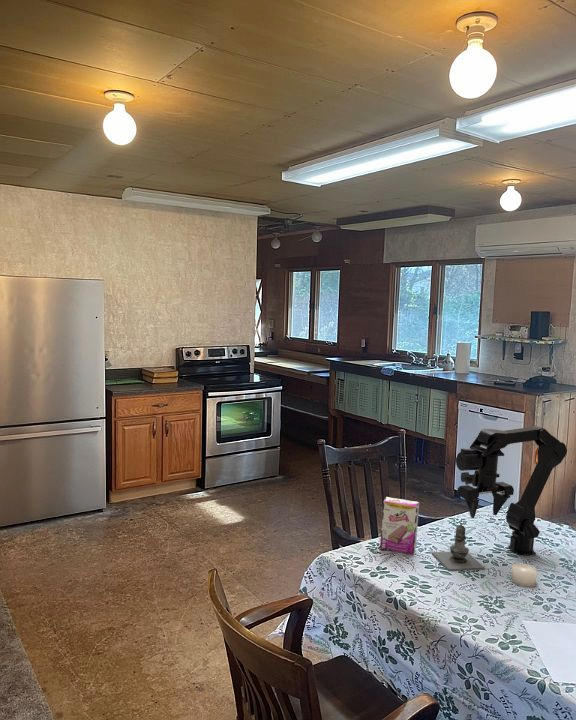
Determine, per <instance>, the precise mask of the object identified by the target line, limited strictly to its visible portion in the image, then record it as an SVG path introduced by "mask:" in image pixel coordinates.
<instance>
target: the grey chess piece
mask: <svg viewBox="0 0 576 720" xmlns="http://www.w3.org/2000/svg"><path fill="white" fill-rule="evenodd" d="M466 539H467V537H466V527H465V526H464V525H463V523H462V522H460V523H459V524H458V525H456V528H455V535H454V543H453V544H452V545H450V546H449V552H451V554H452V555H453V556H451V557H450V560H451V561H453V562H455V563H466V562H467V559H466V558H464V557H466V556H467V554H468V553H469V552H470V549H469V548H468V547H467V546H466V545H465V544H466V543H465V542H466Z"/></svg>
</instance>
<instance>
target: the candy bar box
mask: <svg viewBox="0 0 576 720" xmlns="http://www.w3.org/2000/svg"><path fill="white" fill-rule="evenodd" d="M382 504H383V506H382V518H381V529H380V530H381V533H380V541H379V542H380V543H379V548H380V550H387V551H391V552H395V553H396V552H397V553H401V554H402V553H403V554H407V555H411V556H414V555H415V551H416V548H417V538H418V537H417V536H418V525H419V511H420V502H418V501H415V500H414V501H413V500H408V499H403V498H395V497H389V496H385V498H384V500H383V502H382Z"/></svg>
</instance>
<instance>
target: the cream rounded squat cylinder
mask: <svg viewBox="0 0 576 720" xmlns="http://www.w3.org/2000/svg"><path fill="white" fill-rule="evenodd" d="M537 578H538V569H537V568H536V567H535V566H533V565H530V564H526V563H522V562H515V563H513V564H511V571H510V580H511V582H512V583H514V584H515V585H518V586H521V587H529V588H531V587H535V586H536V585H537Z"/></svg>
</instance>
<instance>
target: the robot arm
mask: <svg viewBox="0 0 576 720" xmlns="http://www.w3.org/2000/svg"><path fill="white" fill-rule="evenodd" d="M525 442H526V443H527V442H534V444H535V445H536V446H537V447H538V448H537V450H536V454H537V455H536V457H537V462H536V465H535V467H534V468H533V470H532V471H533V472H532V473H531V476H530V478H529V480H528V482H527V484H526V486H525V489H524V490H523V493H522V495H521V497H520V499H519V500H518V501H517V502H515V503H514V502H511V503H510V504H509V507H508V509H507V510H506V512H505V514H506V516H505V520H506V523H507V524H508V528H509V530H511V531H512V532H511V535H510V541H509V544H508V545H507V548H508V549H510V550H511V551H513V552H514V553H515V554H516V555H518V556H521V555H523V556H524V554H528V555H536V553H537V552H536V551H534V545H535V544H534V543H535V538H538V537H539V535H540V529H539V528H538V527H537V526H536V525H535V521H536V506H537V504H538V501H539V500H540V498H541V494H542V492H543V491H544V488H545V487H546V484H547V482H548V479H549V477H550V475H551V474H552V471H553V469H554V468H556V467H557V466H558V465H560V464H561V463H562V462H563V460H564V459H565V457H566V456H567V452H568V449H567V445H566V444H565V443H564V442H562V441H560V440H559V439H557V437H555V436H553V434H551V433H549V431H548V430H547V428H544V427H541V426H537V425H532V426H530V427H522V428H515V429H508V430H507V429H505V430H501V429H493V428H483V429H481V430H480V431H479V433H478V435H477V437H476V438H475V439H474V441H473V442H472V443H471V445H470V446H469V448H460V452H458V453H457V454H456V456H455V464H456V467H457V469H458V470H459V471H461V473H460V482H461V483H464V484H465V485H459V486H458V487H457V490H456V491H457V492H456V494H457V495H458V496H460V498H462V499H464V500H465V502H466V505H467V508H468V512H469V516H470V518H471V519H474V518H475V517H476V513H477V510H478V507H479V503H480V499H478V498H479V497H480V495H484V494H492V498H493V501H492V502H493V503H492V514H493V515H494V516H497V515H498V514H499V512H500V510H501V509H502V507H503V506H504V504H506V502H507V500H509V499H510V498H511V496H514V495H515V493H514V492H515V489H514V486H513V485H511V484H508V483H506V482H504V481H498V482H497V478H500V476H501V475H500V473H498V460H499V457H504V456H505V453H504V452H503V451H502V450H503V449H505V448H506V447H507V446H509V445H511V444H512V445H513V444H519V443H525ZM469 471H474V473H473V474H470V473H469ZM471 485H472V486H471Z"/></svg>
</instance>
